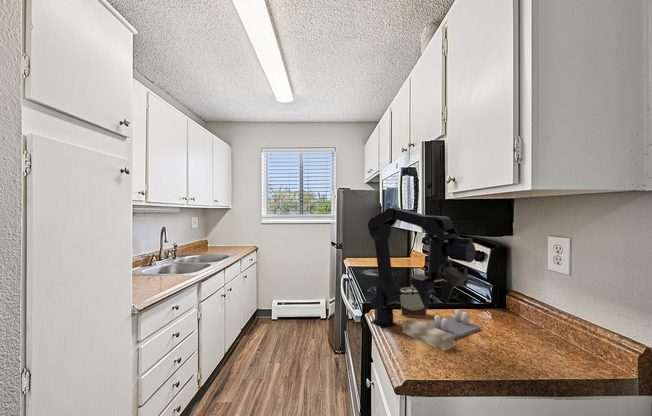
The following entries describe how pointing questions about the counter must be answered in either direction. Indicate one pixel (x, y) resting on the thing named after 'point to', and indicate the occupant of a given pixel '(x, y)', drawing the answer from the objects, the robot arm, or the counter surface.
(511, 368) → the counter surface
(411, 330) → the beige marbled block
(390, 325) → the robot arm
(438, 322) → the peg stand
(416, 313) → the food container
